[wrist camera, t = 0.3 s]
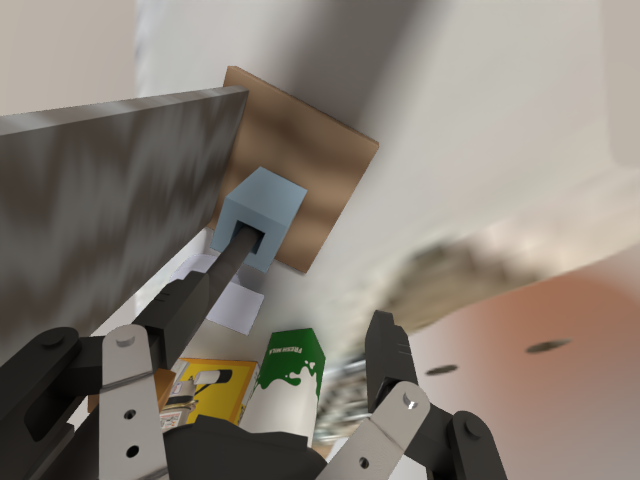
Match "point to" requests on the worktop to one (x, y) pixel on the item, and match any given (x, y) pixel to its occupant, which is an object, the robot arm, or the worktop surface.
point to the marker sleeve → (259, 215)
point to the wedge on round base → (226, 297)
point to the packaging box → (208, 391)
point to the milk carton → (287, 386)
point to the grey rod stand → (149, 210)
